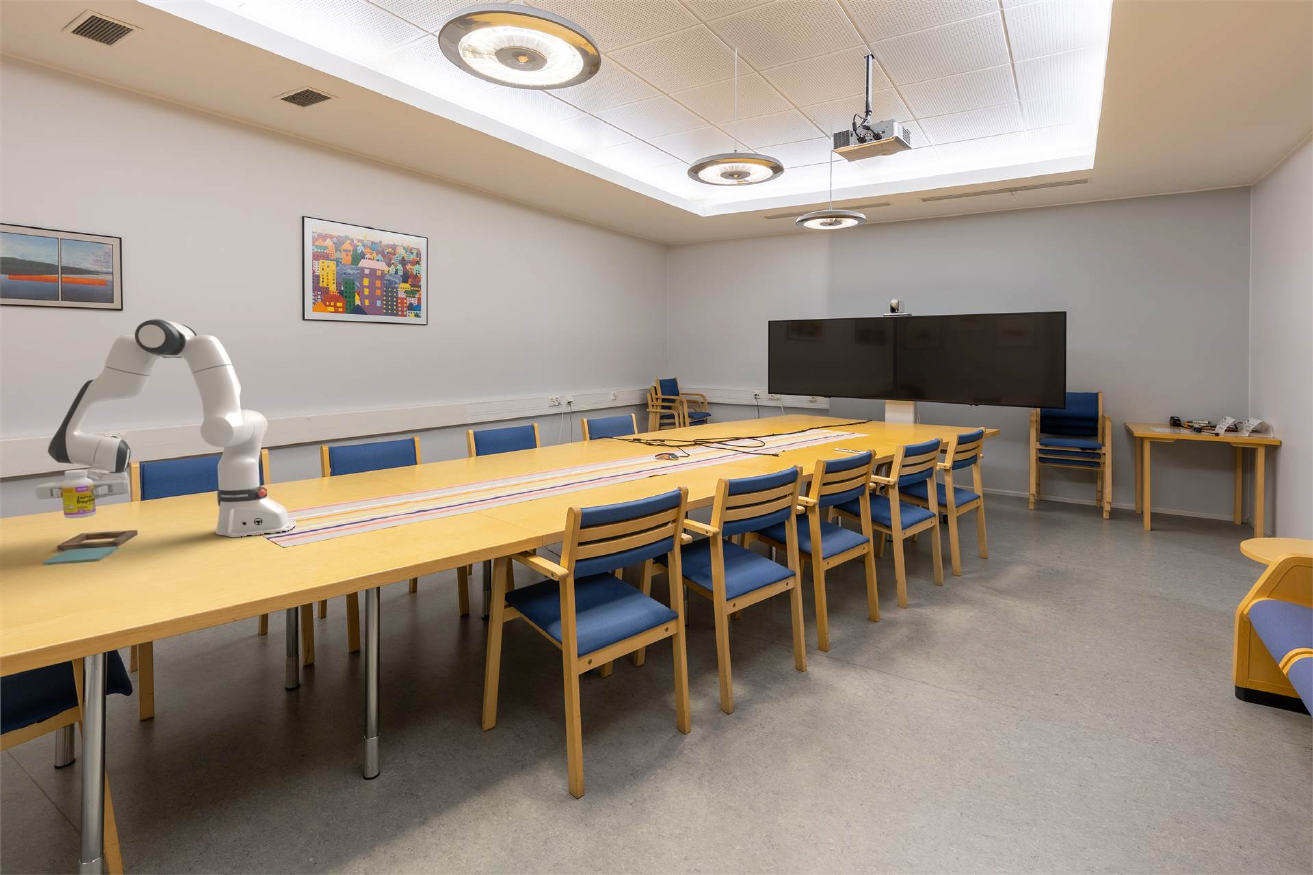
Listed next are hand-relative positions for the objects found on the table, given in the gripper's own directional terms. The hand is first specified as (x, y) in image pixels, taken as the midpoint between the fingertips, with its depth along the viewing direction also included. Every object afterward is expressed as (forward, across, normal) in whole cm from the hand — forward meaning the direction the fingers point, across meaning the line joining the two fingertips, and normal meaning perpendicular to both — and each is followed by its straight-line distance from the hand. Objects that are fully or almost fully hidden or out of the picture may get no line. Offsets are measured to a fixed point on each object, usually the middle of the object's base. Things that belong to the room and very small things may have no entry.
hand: (77, 493), depth 176 cm
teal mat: (0, 0, +18) cm, 18 cm away
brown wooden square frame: (-15, 0, +18) cm, 23 cm away
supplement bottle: (-1, 0, +7) cm, 7 cm away
